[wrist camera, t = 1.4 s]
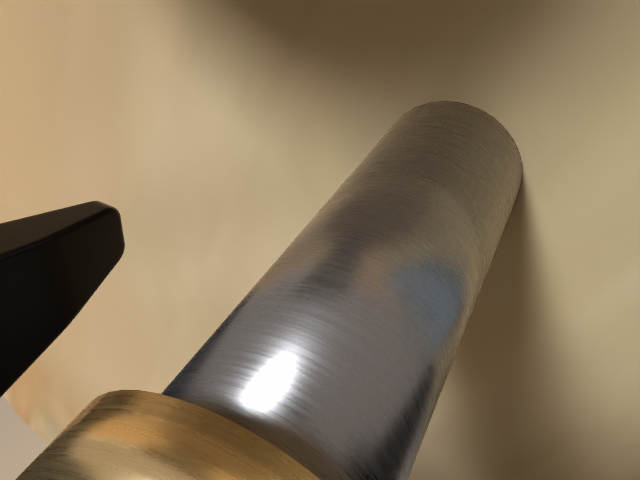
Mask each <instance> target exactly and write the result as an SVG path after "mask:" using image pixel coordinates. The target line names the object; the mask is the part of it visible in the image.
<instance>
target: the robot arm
mask: <svg viewBox="0 0 640 480" xmlns="http://www.w3.org/2000/svg"><path fill="white" fill-rule="evenodd" d="M124 248H125V242H124V236H123V230H122V223H121V217H120V213H119V211H118V210H117V209H116V208H114V207H112V206H109V205H107V204H105V203H102V202H99V201H91V202H87V203H83V204H79V205H75V206H71V207H67V208H63V209H58V210H54V211H50V212H46V213H42V214H38V215H34V216H30V217H26V218H22V219H18V220H13V221H9V222H5V223H1V224H0V397H1V396H2V395H3V394H4V393H5V392H6V391H7V390H8V389H9V388H10V387H11V386H12V385H13V384H14V383H15V382H16V381H17V379H18V378H19V377H20V376H21V375H22V374H23V373H24V372H25V371H26V370H27V369H28V368H29V367H30V366H31V365H32V364H33V363H34V362H35V360H36V359H37V358H38V357H39V356H40V355H41V354H42V353H43V352H44V351H45V350H46V349H47V348H48V347H49V346H50V345H51V344H52V343H53V341H54V340H55V339H56V338H57V337H58V336H59V335H60V334H61V333H62V332H63V331H64V330H65V328H66V327H67V326H68V325H69V324H70V323H71V322H72V320H73V319H74V318H75V317H76V315H77V314H78V313H79V312H80V310H81V309H82V308H83V307H84V305H85V304H86V303H87V301H88V300H89V299H90V297H91V296H92V295H93V294H94V292H95V291H96V290H97V288H98V287H99V286H100V285H101V283H102V282H103V281H104V279H105V278H106V277H107V275H108V274H109V273H110V272H111V270H112V269H113V268H114V266H115V265H116V264H117V263H118V261H119V260H120V258H121V257H122V255H123V252H124Z"/></svg>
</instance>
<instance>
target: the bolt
mask: <svg viewBox="0 0 640 480" xmlns="http://www.w3.org/2000/svg"><path fill="white" fill-rule="evenodd" d="M521 179H522V163H521V158H520V154H519V151H518V148H517V146H516V144H515V142H514V140H513V139H512V137H511V136H510V134H509V133H508V131H507V130H506V129H505V128H504V127H503V126H502V125H501V124H500V123H499V122H498V121H497V120H496V119H495V118H493V117H492V116H490V115H489V114H487V113H486V112H484V111H482V110H480V109H478V108H476V107H473V106H470V105H467V104H463V103H458V102H449V101H443V102H433V103H428V104H424V105H421V106H419V107H417V108H414V109H412V110H411V111H409V112H408V113H406V114H405V115H403V116H402V117H401V118H400V119H399V120H398V121H397V122H396V123H395V124H394V126H393V127H392V128H391V129H390V130H389V131H388V132H387V134H386V135H385V136H384V137H383V138H382V139H381V141H380V142H379V143H378V144H377V145H376V146H375V148H374V149H373V150H372V151H371V152H370V153H369V154H368V156H367V157H366V158H365V159H364V160H363V161H362V163H361V164H360V165H359V166H358V167H357V168H356V169H355V171H354V172H353V173H352V174H351V175H350V176H349V178H348V179H347V180H346V181H345V182H344V183H343V184H342V186H341V187H340V188H339V189H338V190H337V191H336V193H335V194H334V195H333V196H332V197H331V198H330V199H329V201H328V202H327V203H326V204H325V205H324V206H323V208H322V209H321V210H320V211H319V212H318V213H317V215H316V216H315V217H314V218H313V219H312V220H311V221H310V223H309V224H308V225H307V226H306V227H305V228H304V230H303V231H302V232H301V233H300V234H299V235H298V236H297V238H296V239H295V240H294V241H293V242H292V243H291V245H290V246H289V247H288V248H287V249H286V250H285V251H284V253H283V254H282V255H281V256H280V257H279V258H278V260H277V261H276V262H275V263H274V264H273V265H272V267H271V268H270V269H269V270H268V271H267V272H266V273H265V275H264V276H263V277H262V278H261V279H260V280H259V282H258V283H257V284H256V285H255V286H254V287H253V288H252V290H251V291H250V292H249V293H248V294H247V295H246V297H245V298H244V299H243V300H242V301H241V302H240V303H239V305H238V306H237V307H236V308H235V309H234V310H233V312H232V313H231V314H230V315H229V316H228V317H227V318H226V320H225V321H224V322H223V323H222V324H221V325H220V327H219V328H218V329H217V330H216V331H215V332H214V334H213V335H212V336H211V337H210V338H209V339H208V340H207V342H206V343H205V344H204V345H203V346H202V347H201V349H200V350H199V351H198V352H197V353H196V354H195V355H194V357H193V358H192V359H191V360H190V361H189V362H188V364H187V365H186V366H185V367H184V368H183V369H182V370H181V372H180V373H179V374H178V375H177V376H176V377H175V379H174V380H173V381H172V382H171V383H170V384H169V385H168V387H167V388H166V389H165V390H164V391H163V392H162V394H159V393H153V392H147V391H140V390H119V391H113V392H108V393H105V394H103V395H100V396H98V397H97V398H95V399H94V400H93V401H92V402H91V403H89V404H88V406H87V407H86V408H85V409H84V410H83V411H82V412H81V413H80V414H79V415H78V416H77V417H76V418H75V419H74V420H73V421H72V422H71V423H70V424H69V425H68V426H67V427H66V428H65V429H64V430H63V431H62V432H61V433H60V434H59V435H58V436H57V437H56V438H55V439H54V440H53V441H52V443H51V444H50V445H49V446H48V447H47V448H46V449H45V450H44V451H43V452H42V453H41V454H40V455H39V456H38V457H37V458H36V459H35V460H34V461H33V462H32V463H31V464H30V465H29V466H28V467H27V468H26V469H25V470H24V472H22V473H21V474H20V475H19V476H18V478H17V479H16V480H407V479H408V476H409V474H410V471H411V468H412V466H413V463H414V461H415V458H416V455H417V453H418V450H419V448H420V445H421V442H422V440H423V437H424V435H425V432H426V430H427V427H428V424H429V422H430V419H431V417H432V414H433V411H434V409H435V406H436V404H437V401H438V399H439V396H440V393H441V391H442V388H443V386H444V383H445V380H446V378H447V375H448V373H449V370H450V367H451V365H452V362H453V360H454V357H455V355H456V352H457V349H458V347H459V344H460V342H461V339H462V336H463V334H464V331H465V329H466V326H467V323H468V321H469V318H470V316H471V313H472V311H473V308H474V305H475V303H476V300H477V298H478V295H479V292H480V290H481V287H482V285H483V282H484V279H485V277H486V274H487V272H488V269H489V267H490V264H491V261H492V259H493V256H494V254H495V251H496V248H497V246H498V243H499V241H500V238H501V236H502V233H503V230H504V228H505V225H506V223H507V220H508V217H509V215H510V212H511V210H512V207H513V204H514V202H515V199H516V197H517V194H518V192H519V188H520V185H521Z"/></svg>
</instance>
